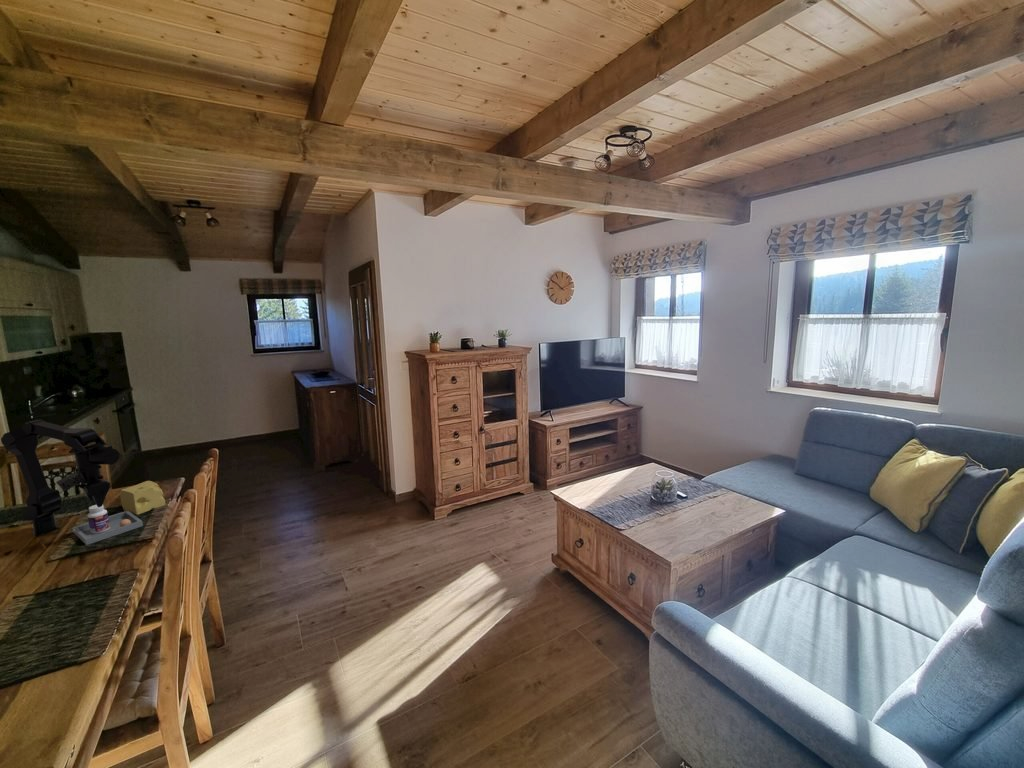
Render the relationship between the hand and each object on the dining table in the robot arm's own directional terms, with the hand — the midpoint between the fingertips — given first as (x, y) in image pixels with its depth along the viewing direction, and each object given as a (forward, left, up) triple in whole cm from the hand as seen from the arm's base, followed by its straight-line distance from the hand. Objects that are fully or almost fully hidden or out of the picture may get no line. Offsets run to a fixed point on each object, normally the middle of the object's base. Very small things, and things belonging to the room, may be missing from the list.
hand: (96, 503), depth 160 cm
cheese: (-10, +16, -12) cm, 22 cm away
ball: (+5, +6, -11) cm, 13 cm away
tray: (+1, +2, -11) cm, 12 cm away
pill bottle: (0, 0, -11) cm, 11 cm away
